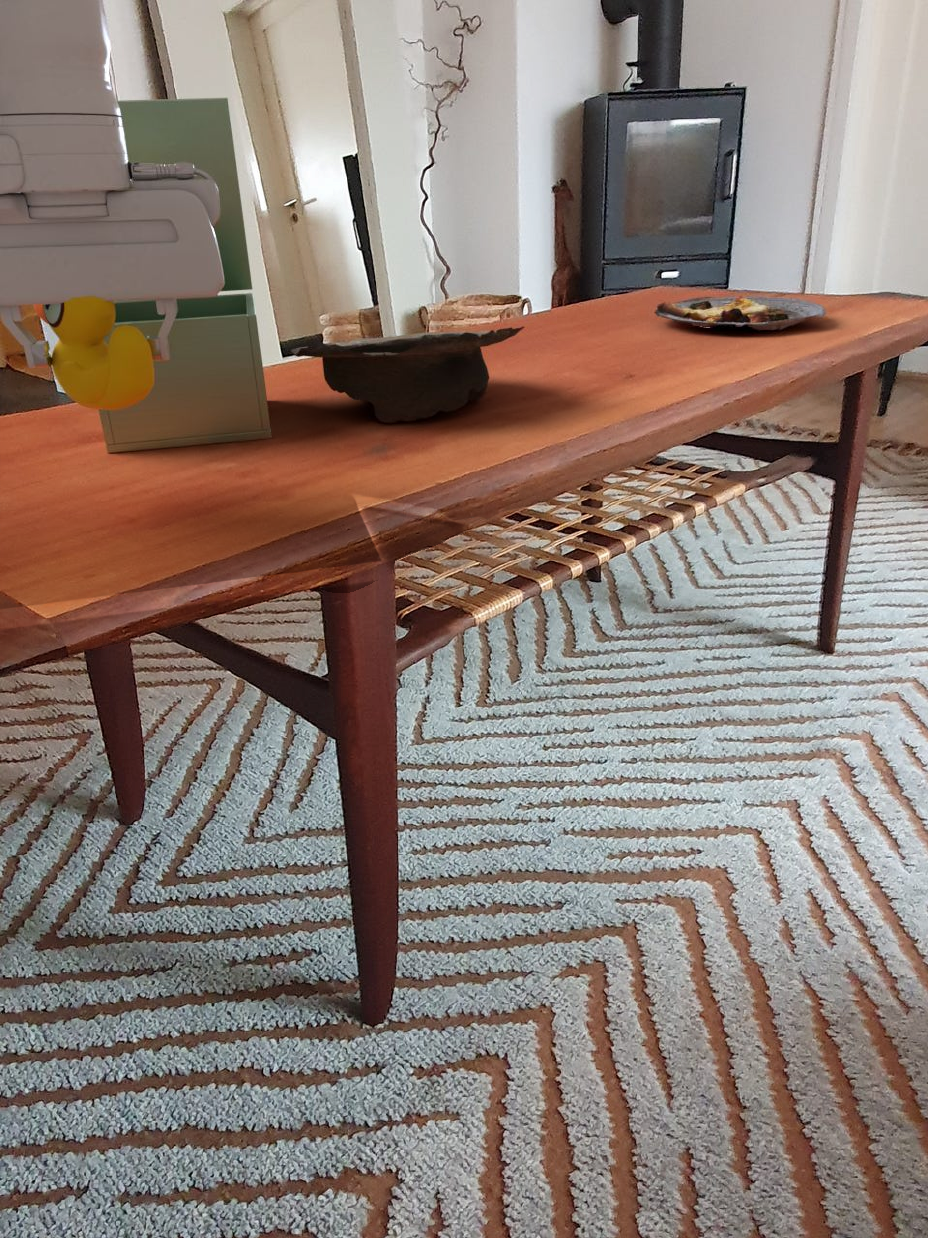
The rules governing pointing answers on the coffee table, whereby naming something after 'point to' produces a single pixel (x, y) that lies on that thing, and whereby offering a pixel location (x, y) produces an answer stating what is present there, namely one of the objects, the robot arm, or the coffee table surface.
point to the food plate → (741, 311)
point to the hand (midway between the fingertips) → (100, 363)
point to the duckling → (98, 354)
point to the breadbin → (195, 377)
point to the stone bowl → (409, 371)
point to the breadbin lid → (195, 162)
